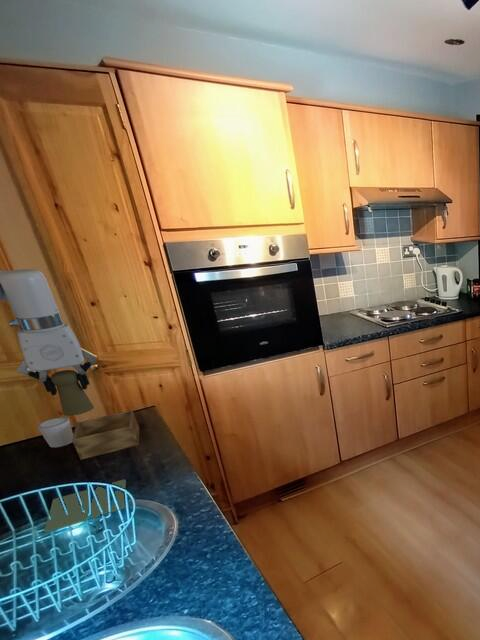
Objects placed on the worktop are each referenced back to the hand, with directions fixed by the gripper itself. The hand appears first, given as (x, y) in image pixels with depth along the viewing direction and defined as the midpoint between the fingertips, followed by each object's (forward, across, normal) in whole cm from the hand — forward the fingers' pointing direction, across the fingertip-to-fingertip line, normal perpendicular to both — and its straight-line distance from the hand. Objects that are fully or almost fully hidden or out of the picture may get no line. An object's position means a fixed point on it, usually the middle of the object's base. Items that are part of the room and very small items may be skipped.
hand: (70, 389), depth 116 cm
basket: (+23, +2, +14) cm, 27 cm away
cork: (+6, 0, 0) cm, 6 cm away
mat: (+23, -2, -20) cm, 30 cm away
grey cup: (+24, -10, +24) cm, 35 cm away
